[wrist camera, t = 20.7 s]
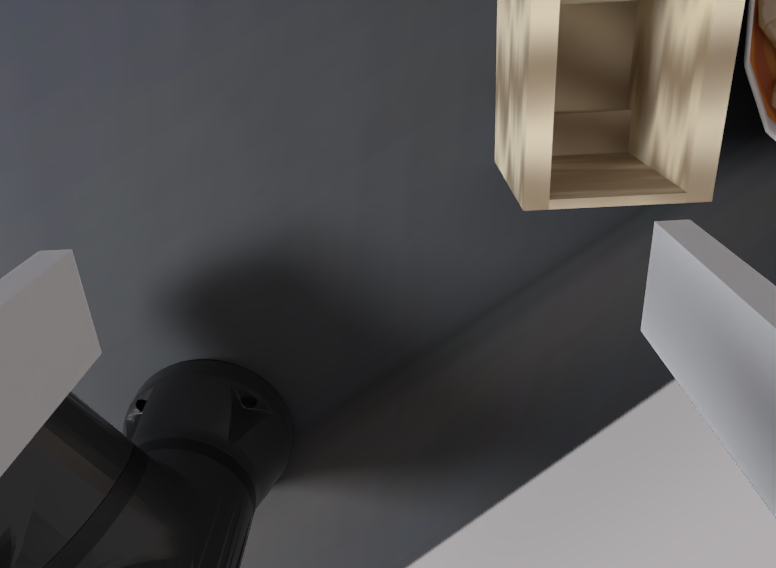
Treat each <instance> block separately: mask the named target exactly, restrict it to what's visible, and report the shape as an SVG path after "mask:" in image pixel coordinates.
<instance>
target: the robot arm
mask: <svg viewBox="0 0 776 568" xmlns="http://www.w3.org/2000/svg"><path fill="white" fill-rule="evenodd" d="M640 331H641V332H642V333H643V335H644V336H645V337H646V339H647V340H648V342H649V343H650V344H651V346H652V347H653V349H654V350H655V351H656V353H657V354H658V355H659V357H660V358H661V360H662V361H663V362H664V364H665V365H666V367H667V368H668V369H669V371H670V372H671V373H672V375H673V376H674V378H675V379H676V380H677V382H678V383H679V385H680V386H681V387H682V388H683V390H684V391H685V393H686V394H687V396H688V397H689V398H690V400H691V401H692V403H693V404H694V405H695V407H696V408H697V409H698V411H699V412H700V414H701V415H702V416H703V418H704V419H705V421H706V422H707V423H708V425H709V426H710V427H711V429H712V430H713V432H714V433H715V434H716V436H717V437H718V439H719V440H720V441H721V443H722V444H723V445H724V447H725V448H726V450H727V451H728V452H729V454H730V455H731V457H732V458H733V459H734V460H735V462H736V463H737V465H738V466H739V468H740V469H741V470H742V472H743V473H744V475H745V476H746V477H747V479H748V480H749V482H750V483H751V484H752V486H753V487H754V488H755V490H756V491H757V492H758V494H759V495H760V496H761V498H762V500H763V501H764V502H765V504H766V505H767V506H768V508H769V509H770V511H771V512H772V513H773V515H774V516H775V518H776V286H775V285H774V284H772V283H771V282H770V281H768V280H767V279H766V278H765V277H763V276H762V275H761V274H759V273H758V272H757V271H756V270H754V269H753V268H752V267H750V266H749V265H748V264H746V263H745V262H744V261H743V260H741V259H740V258H739V257H737V256H736V255H735V254H734V253H732V252H731V251H730V250H728V249H727V248H726V247H725V246H723V245H722V244H721V243H719V242H718V241H717V240H715V239H714V238H713V237H712V236H710V235H709V234H708V233H706V232H705V231H704V230H703V229H701V228H700V227H699V226H697V225H696V224H695V223H694V222H692V221H691V220H672V221H655V222H654V230H653V238H652V245H651V253H650V261H649V269H648V276H647V284H646V292H645V300H644V307H643V315H642V323H641V330H640ZM101 354H102V352H101V349H100V345H99V342H98V338H97V335H96V331H95V328H94V325H93V321H92V318H91V314H90V311H89V307H88V304H87V300H86V297H85V293H84V290H83V286H82V283H81V279H80V276H79V272H78V269H77V265H76V262H75V258H74V255H73V251H72V249H69V250H48V251H38V252H37V253H35V254H34V255H33V256H31V257H30V258H29V259H27V260H26V261H24V262H23V263H22V264H20V265H19V266H17V267H16V268H15V269H13V270H12V271H11V272H9V273H8V274H6V275H5V276H4V277H2V278H1V279H0V568H240V565H241V561H242V557H243V554H244V550H245V546H246V542H247V539H248V535H249V531H250V527H251V523H252V519H253V515H254V512H255V509H256V508H257V507H258V505H259V504H260V503H261V502H262V500H263V499H264V498H265V496H266V495H267V494H268V493H269V491H270V490H271V488H272V487H273V486H274V485H275V484H276V483H277V481H278V480H279V479H280V477H281V476H282V474H283V472H284V470H285V468H286V466H287V463H288V460H289V456H290V452H291V448H292V443H293V424H292V420H291V416H290V414H289V411H288V409H287V407H286V405H285V403H284V402H283V400H282V399H281V397H280V396H279V395H278V394H277V392H276V391H275V390H274V389H273V388H272V387H271V386H270V385H269V384H267V383H266V382H265V381H264V380H262V379H261V378H260V377H258V376H256V375H255V374H253V373H251V372H249V371H247V370H245V369H243V368H241V367H238V366H235V365H232V364H228V363H224V362H219V361H211V360H194V361H186V362H181V363H177V364H174V365H171V366H169V367H166V368H164V369H162V370H161V371H159V372H157V373H156V374H154V375H153V376H152V377H151V378H149V379H148V380H147V381H146V382H145V384H144V385H143V386H142V387H141V389H140V390H139V392H138V393H137V395H136V396H135V398H134V400H133V401H132V403H131V405H130V406H129V409H128V411H127V414H126V417H125V420H124V426H123V434H122V433H121V432H119V431H118V430H117V429H116V428H115V427H113V426H112V425H111V424H110V423H108V422H107V421H106V420H105V419H104V418H102V417H101V416H100V415H99V414H98V413H96V412H95V411H94V410H93V409H91V408H90V407H89V406H88V405H87V404H85V403H84V402H83V401H82V400H80V399H79V398H78V397H77V396H76V395H74V394H73V393H72V392H71V390H72V389H73V388H74V387H75V385H76V384H77V383H78V382H79V380H80V379H81V378H82V377H83V376H84V374H85V373H86V372H87V371H88V369H89V368H90V367H91V366H92V365H93V363H94V362H95V361H96V360H97V358H98V357H99V356H100V355H101Z"/></svg>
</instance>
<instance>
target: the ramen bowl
mask: <svg viewBox="0 0 776 568" xmlns="http://www.w3.org/2000/svg"><path fill="white" fill-rule="evenodd" d="M744 68H745V71H746V74H747V77H748V80H749V83H750V86H751V89H752V92H753V95H754V98H755V102H756V105H757V108H758V111H759V114H760V117H761V120H762V123H763V126H764V129H765V132H766V133H767V134H768V135H769V136H770V137H772V138H773V139H774V140H775V141H776V0H749V5H748V17H747V29H746V41H745V52H744Z"/></svg>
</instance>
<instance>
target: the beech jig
mask: <svg viewBox="0 0 776 568" xmlns="http://www.w3.org/2000/svg"><path fill="white" fill-rule="evenodd" d="M744 6H745V0H497V49H496V112H495V163H496V165H497V166H498V168H499V170H500V171H501V173H502V175H503V177H504V178H505V180H506V182H507V183H508V185H509V187H510V189H511V190H512V192H513V194H514V196H515V197H516V199H517V201H518V202H519V204H520V206H521V208H522V209H523V211H529V210H549V209H570V208H590V207H610V206H631V205H651V204H672V203H692V202H712V197H713V191H714V185H715V179H716V173H717V167H718V161H719V155H720V149H721V143H722V137H723V131H724V125H725V119H726V113H727V107H728V101H729V95H730V89H731V83H732V77H733V71H734V65H735V59H736V53H737V48H738V42H739V36H740V30H741V24H742V18H743V12H744Z"/></svg>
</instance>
